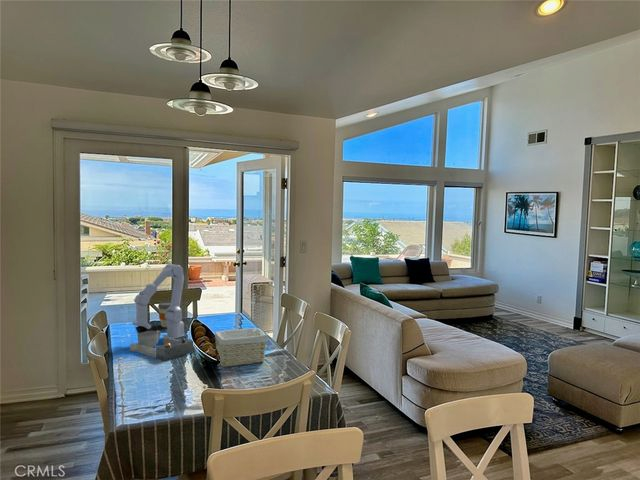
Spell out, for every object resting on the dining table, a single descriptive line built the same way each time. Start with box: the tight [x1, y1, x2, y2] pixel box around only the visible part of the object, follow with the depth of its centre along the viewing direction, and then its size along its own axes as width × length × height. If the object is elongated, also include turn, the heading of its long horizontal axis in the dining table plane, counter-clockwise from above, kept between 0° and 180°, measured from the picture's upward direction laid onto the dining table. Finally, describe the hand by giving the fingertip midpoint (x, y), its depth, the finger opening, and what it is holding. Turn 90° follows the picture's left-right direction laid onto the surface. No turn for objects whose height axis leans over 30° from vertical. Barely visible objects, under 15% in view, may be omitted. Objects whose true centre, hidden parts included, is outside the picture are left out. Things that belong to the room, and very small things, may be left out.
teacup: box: [136, 330, 161, 348], centre depth 238 cm, size 14×11×8 cm
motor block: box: [129, 334, 194, 362], centre depth 231 cm, size 22×28×7 cm
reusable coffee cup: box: [157, 300, 171, 328], centre depth 282 cm, size 13×12×15 cm
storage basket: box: [214, 327, 268, 368], centre depth 218 cm, size 24×16×15 cm
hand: (141, 339), depth 242 cm, fingers closed
